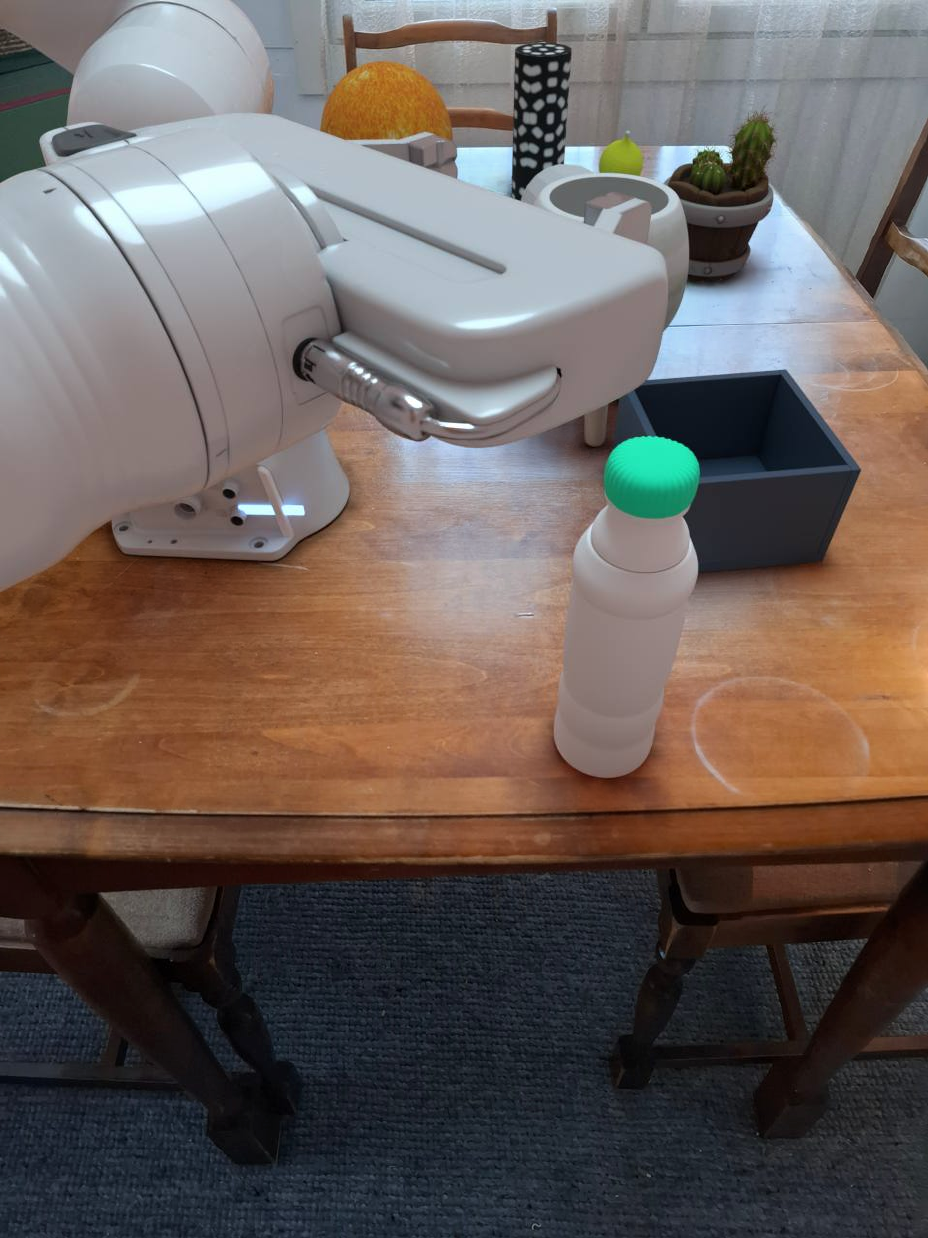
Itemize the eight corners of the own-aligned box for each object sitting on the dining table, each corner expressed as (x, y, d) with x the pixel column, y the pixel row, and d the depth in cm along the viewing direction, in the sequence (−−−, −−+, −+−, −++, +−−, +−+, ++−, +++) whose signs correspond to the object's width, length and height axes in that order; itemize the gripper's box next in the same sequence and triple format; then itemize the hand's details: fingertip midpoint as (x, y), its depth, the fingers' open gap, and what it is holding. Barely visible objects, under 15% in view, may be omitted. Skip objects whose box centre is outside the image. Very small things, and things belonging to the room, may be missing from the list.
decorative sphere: (339, 188, 135) (322, 46, 121) (457, 188, 135) (454, 44, 120) (320, 236, 122) (298, 82, 107) (451, 235, 121) (447, 80, 106)
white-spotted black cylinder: (504, 189, 134) (507, 45, 119) (550, 183, 135) (559, 40, 121) (521, 207, 128) (526, 58, 114) (569, 200, 130) (580, 53, 115)
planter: (489, 393, 91) (490, 179, 74) (615, 365, 94) (643, 156, 78) (549, 472, 80) (566, 245, 64) (688, 438, 84) (738, 214, 68)
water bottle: (647, 790, 55) (729, 508, 37) (546, 773, 56) (577, 491, 38) (652, 709, 60) (726, 423, 42) (558, 695, 61) (591, 411, 43)
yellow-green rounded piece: (620, 199, 130) (628, 129, 123) (588, 187, 134) (594, 119, 126) (648, 187, 133) (657, 119, 126) (615, 177, 137) (623, 110, 129)
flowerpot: (644, 287, 108) (669, 118, 93) (653, 241, 118) (677, 83, 103) (755, 297, 106) (799, 125, 91) (754, 249, 116) (794, 88, 101)
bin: (650, 577, 70) (670, 485, 62) (609, 470, 80) (621, 381, 73) (822, 561, 71) (861, 469, 63) (759, 458, 81) (786, 368, 74)
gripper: (446, 328, 16) (811, 155, 22) (20, 119, 26) (353, 42, 32) (455, 563, 20) (755, 364, 27) (90, 306, 31) (369, 206, 37)
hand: (531, 186), depth 30 cm, fingers open, 8 cm apart
